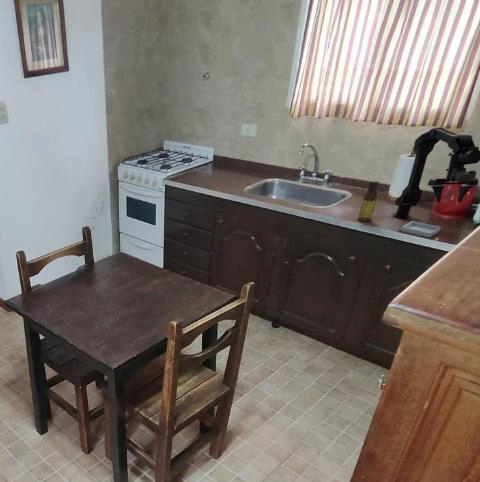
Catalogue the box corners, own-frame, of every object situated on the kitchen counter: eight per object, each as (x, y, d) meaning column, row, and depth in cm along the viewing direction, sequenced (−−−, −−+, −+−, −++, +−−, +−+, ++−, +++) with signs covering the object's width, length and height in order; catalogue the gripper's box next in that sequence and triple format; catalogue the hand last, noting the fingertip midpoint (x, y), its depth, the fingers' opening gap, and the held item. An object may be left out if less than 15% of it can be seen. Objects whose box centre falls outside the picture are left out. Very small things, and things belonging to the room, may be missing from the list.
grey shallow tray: (411, 225, 241) (412, 220, 239) (439, 231, 232) (441, 227, 231) (400, 231, 234) (401, 226, 233) (428, 237, 226) (430, 233, 225)
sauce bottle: (372, 221, 247) (383, 182, 235) (359, 221, 248) (370, 182, 237) (368, 217, 252) (379, 179, 241) (356, 217, 253) (366, 179, 242)
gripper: (446, 164, 204) (439, 202, 209) (491, 164, 203) (482, 202, 208) (430, 166, 215) (423, 202, 219) (473, 166, 214) (465, 202, 218)
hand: (448, 202), depth 216 cm, fingers open, 9 cm apart
